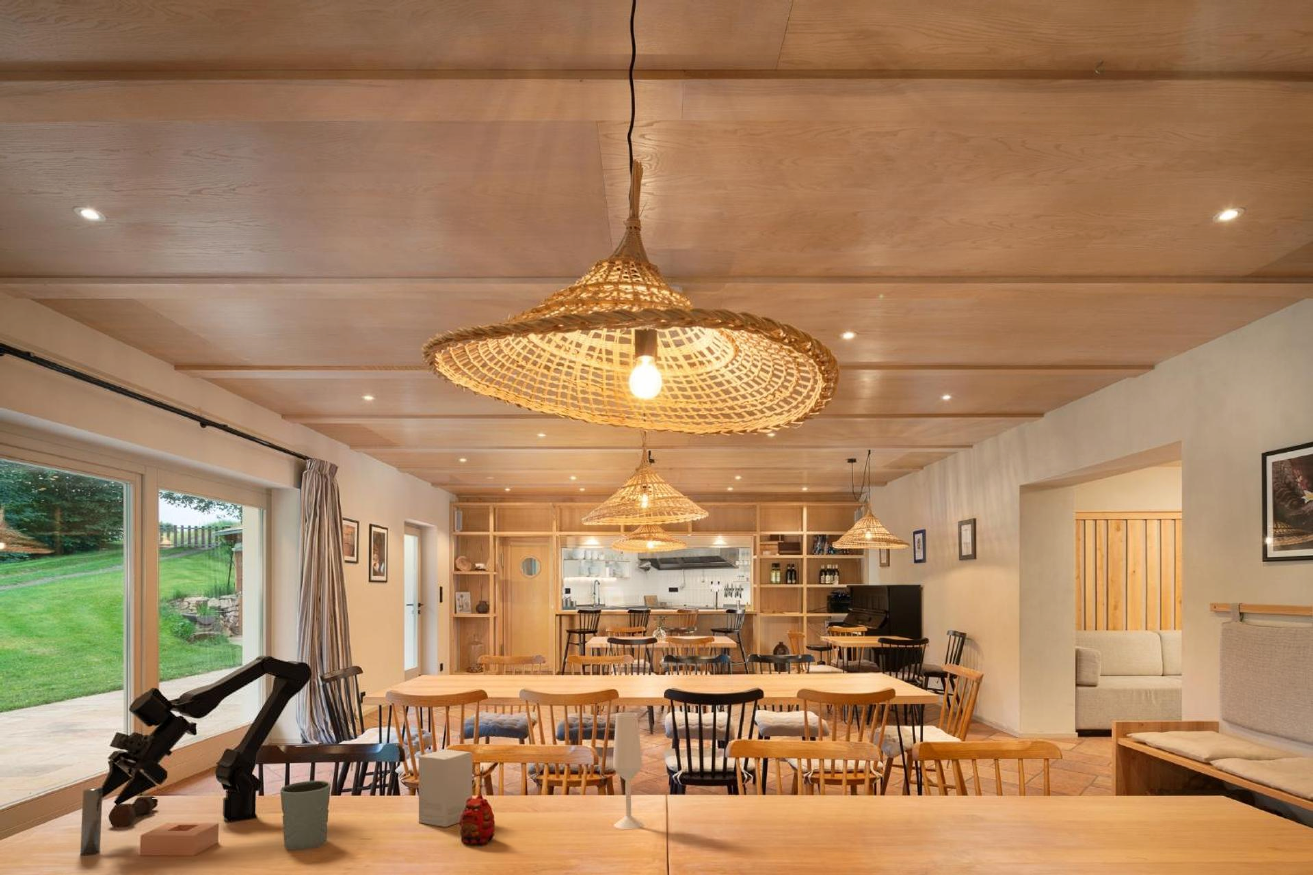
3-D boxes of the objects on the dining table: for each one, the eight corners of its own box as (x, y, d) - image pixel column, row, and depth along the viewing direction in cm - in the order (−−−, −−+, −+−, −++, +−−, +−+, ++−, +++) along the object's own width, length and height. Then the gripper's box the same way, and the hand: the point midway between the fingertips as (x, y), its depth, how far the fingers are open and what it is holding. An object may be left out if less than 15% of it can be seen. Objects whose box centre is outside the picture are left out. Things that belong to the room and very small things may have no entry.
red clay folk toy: (453, 844, 200) (453, 771, 202) (471, 835, 207) (470, 764, 209) (485, 847, 198) (484, 773, 199) (501, 838, 204) (501, 766, 206)
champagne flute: (608, 827, 210) (606, 716, 213) (621, 819, 216) (619, 711, 219) (636, 830, 207) (634, 717, 210) (648, 821, 213) (646, 712, 216)
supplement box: (473, 818, 220) (473, 751, 222) (445, 827, 213) (446, 759, 215) (445, 813, 225) (445, 748, 227) (417, 822, 218) (417, 755, 219)
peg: (99, 848, 204) (102, 786, 205) (100, 852, 201) (103, 789, 202) (80, 851, 202) (82, 788, 203) (80, 856, 199) (83, 791, 200)
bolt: (154, 817, 235) (122, 833, 220) (137, 807, 235) (103, 822, 220) (167, 796, 236) (136, 810, 221) (150, 786, 236) (117, 799, 221)
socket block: (166, 841, 207) (166, 822, 208) (218, 842, 206) (218, 823, 207) (139, 855, 199) (140, 835, 199) (193, 855, 197) (194, 835, 198)
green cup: (339, 838, 207) (340, 781, 208) (308, 853, 197) (309, 793, 199) (301, 835, 210) (302, 779, 211) (268, 849, 200) (269, 790, 202)
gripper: (119, 713, 217) (62, 772, 207) (155, 721, 205) (96, 784, 195) (154, 743, 222) (100, 802, 212) (190, 752, 210) (135, 815, 200)
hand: (106, 800), depth 205 cm, fingers open, 9 cm apart
